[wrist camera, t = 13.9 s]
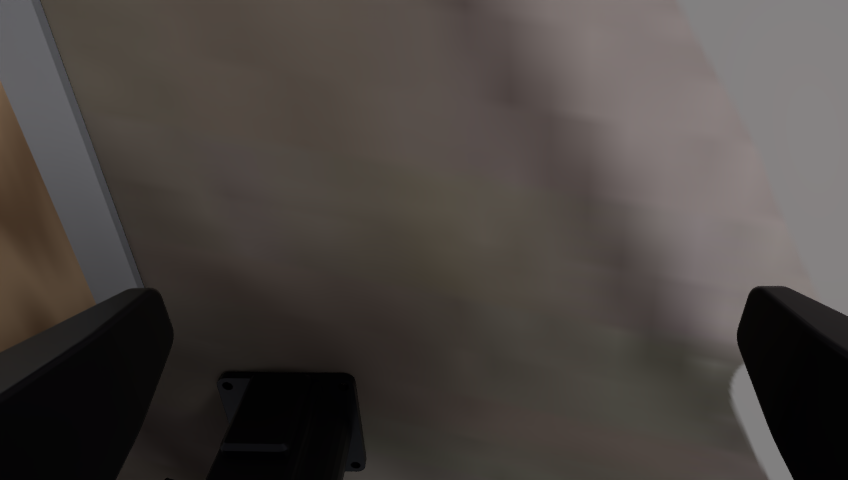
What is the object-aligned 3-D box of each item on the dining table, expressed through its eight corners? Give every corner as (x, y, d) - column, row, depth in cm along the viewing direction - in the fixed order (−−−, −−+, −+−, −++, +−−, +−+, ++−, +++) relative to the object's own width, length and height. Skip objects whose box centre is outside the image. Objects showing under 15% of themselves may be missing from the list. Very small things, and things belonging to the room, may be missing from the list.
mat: (157, 323, 25) (153, 329, 24) (10, 323, 25) (4, 328, 25) (6, -90, 17) (-3, -90, 16) (-205, -80, 17) (-219, -80, 17)
